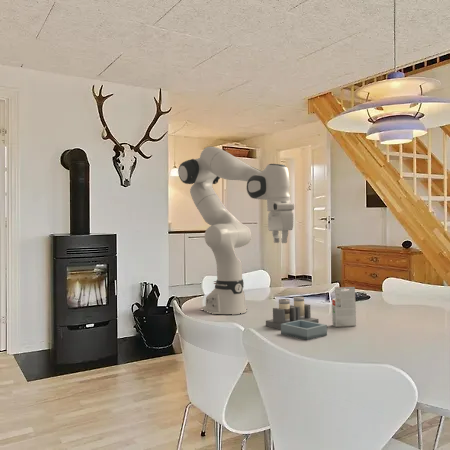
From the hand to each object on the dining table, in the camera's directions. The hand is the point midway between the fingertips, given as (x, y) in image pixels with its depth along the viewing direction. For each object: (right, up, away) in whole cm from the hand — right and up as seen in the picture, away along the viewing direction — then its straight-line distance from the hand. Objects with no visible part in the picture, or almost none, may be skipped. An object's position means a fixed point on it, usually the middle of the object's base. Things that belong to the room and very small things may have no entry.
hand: (280, 243), depth 174 cm
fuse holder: (+4, -31, 0) cm, 31 cm away
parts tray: (+6, -31, -15) cm, 35 cm away
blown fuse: (+1, -29, -2) cm, 29 cm away
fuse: (+8, -29, +3) cm, 30 cm away
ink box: (+23, -31, -3) cm, 39 cm away
